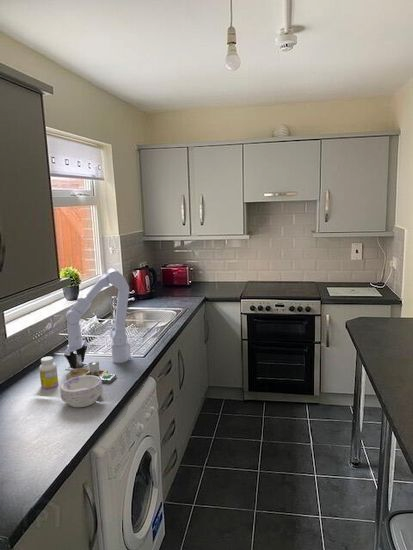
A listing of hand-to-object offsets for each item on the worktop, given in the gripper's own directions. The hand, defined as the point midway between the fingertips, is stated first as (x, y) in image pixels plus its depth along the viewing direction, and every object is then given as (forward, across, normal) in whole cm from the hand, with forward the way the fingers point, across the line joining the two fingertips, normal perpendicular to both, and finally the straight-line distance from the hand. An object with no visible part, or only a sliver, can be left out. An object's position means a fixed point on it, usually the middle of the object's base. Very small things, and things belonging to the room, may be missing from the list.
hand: (77, 364), depth 195 cm
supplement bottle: (+2, +20, -1) cm, 20 cm away
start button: (+3, +11, +20) cm, 23 cm away
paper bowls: (+2, +29, +19) cm, 35 cm away
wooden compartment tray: (+2, +8, +10) cm, 13 cm away
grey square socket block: (+2, +11, +20) cm, 23 cm away
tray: (+2, 0, 0) cm, 2 cm away
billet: (+1, 0, 0) cm, 1 cm away
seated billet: (+1, +8, +13) cm, 16 cm away
